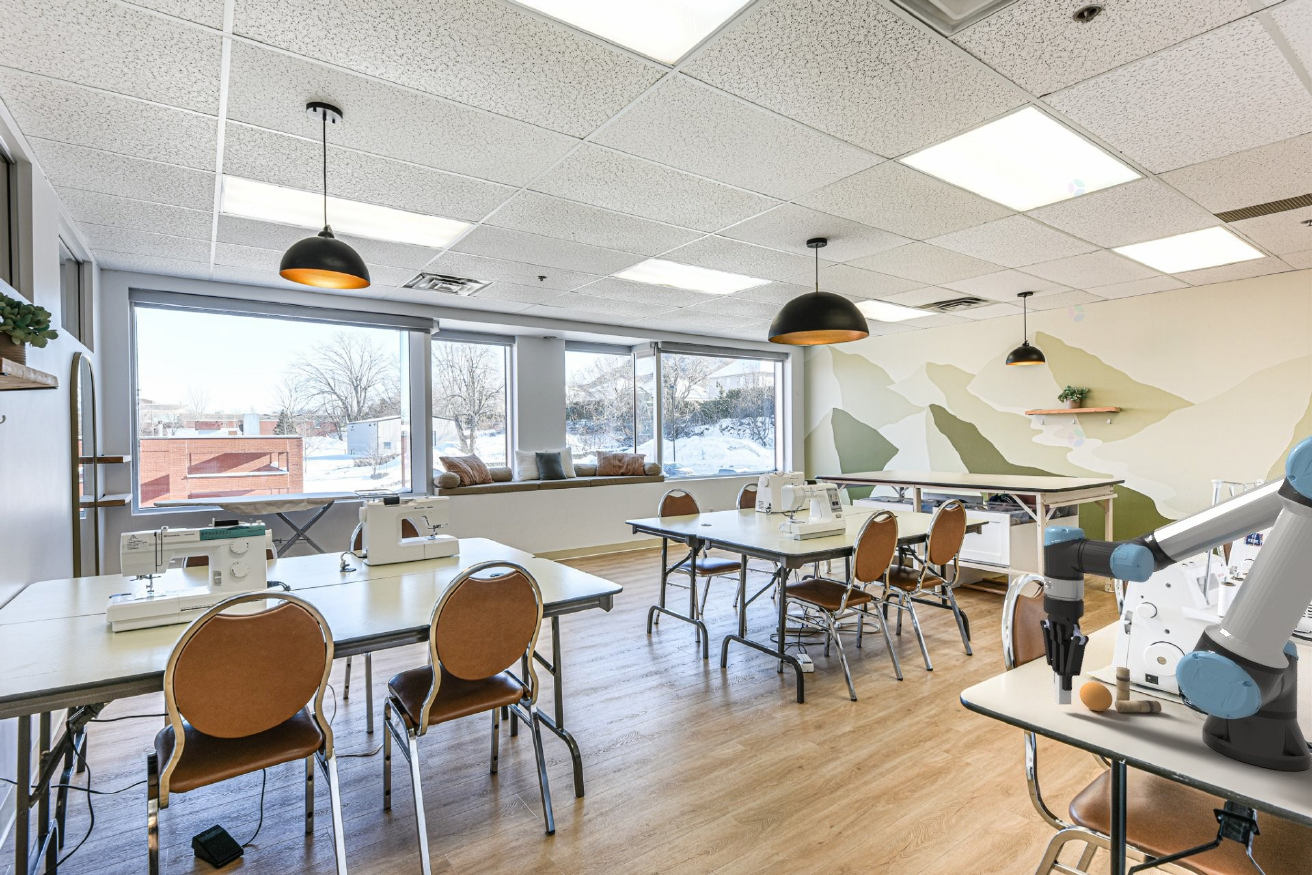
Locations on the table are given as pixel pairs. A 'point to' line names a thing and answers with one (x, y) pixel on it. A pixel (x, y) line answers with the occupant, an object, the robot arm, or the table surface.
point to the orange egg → (1096, 696)
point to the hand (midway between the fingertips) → (1062, 702)
